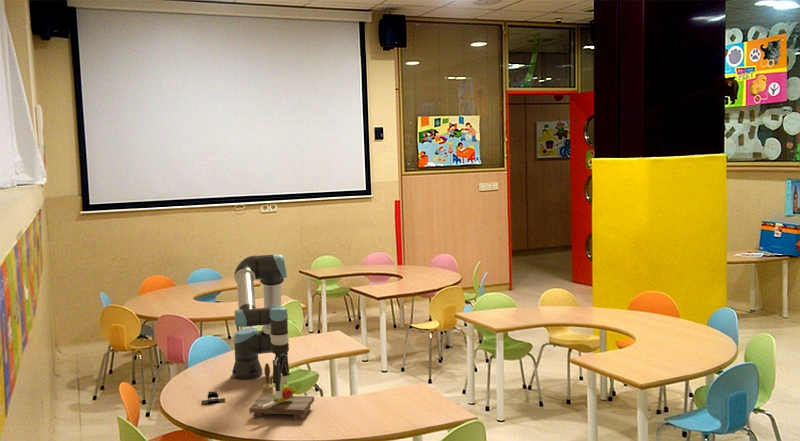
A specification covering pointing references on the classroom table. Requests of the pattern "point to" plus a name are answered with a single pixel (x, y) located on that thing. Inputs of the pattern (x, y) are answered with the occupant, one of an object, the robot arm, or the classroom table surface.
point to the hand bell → (267, 383)
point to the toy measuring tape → (286, 394)
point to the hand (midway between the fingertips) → (281, 393)
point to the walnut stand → (282, 406)
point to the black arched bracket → (212, 401)
